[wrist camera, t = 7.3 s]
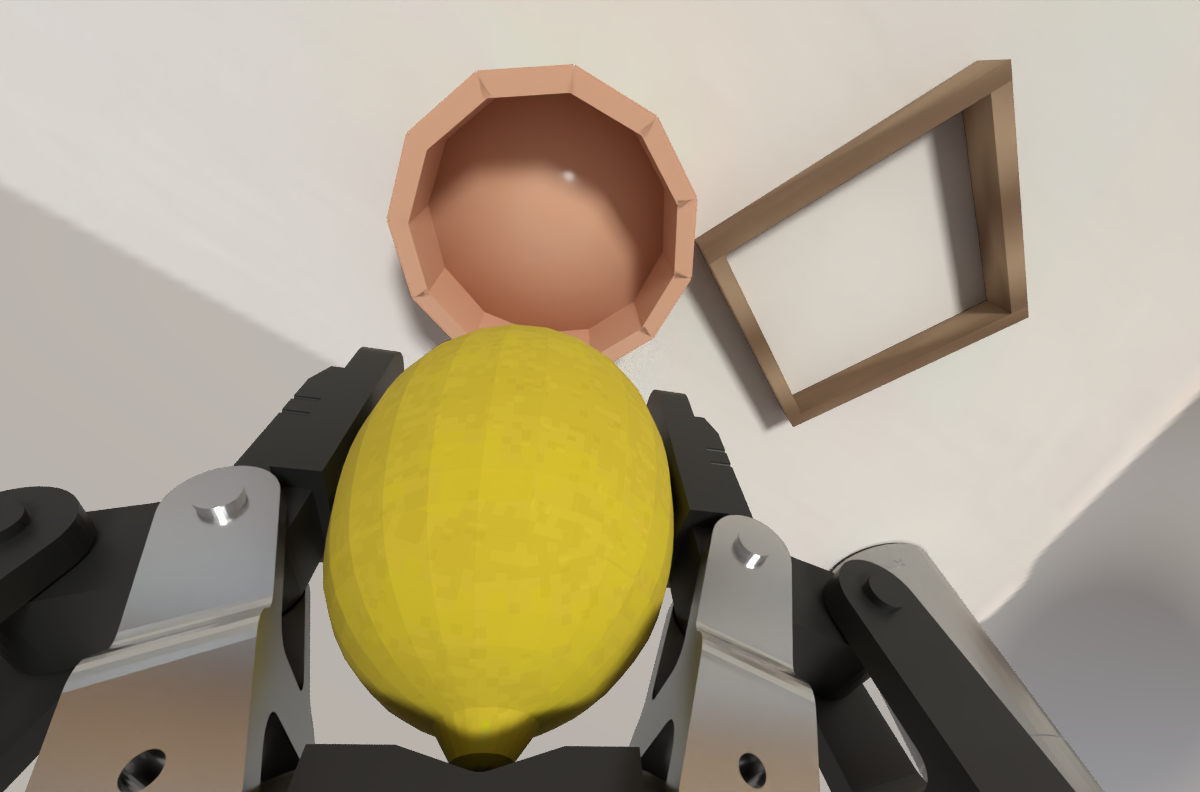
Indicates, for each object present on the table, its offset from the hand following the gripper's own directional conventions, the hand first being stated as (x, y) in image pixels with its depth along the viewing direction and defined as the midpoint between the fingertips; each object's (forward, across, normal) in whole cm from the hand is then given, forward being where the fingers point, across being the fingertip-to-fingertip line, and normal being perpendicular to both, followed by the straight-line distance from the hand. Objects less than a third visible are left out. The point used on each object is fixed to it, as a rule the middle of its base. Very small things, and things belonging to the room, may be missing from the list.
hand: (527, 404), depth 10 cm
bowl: (+15, 0, 0) cm, 15 cm away
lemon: (+1, 0, 0) cm, 1 cm away
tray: (+15, -17, -1) cm, 23 cm away
